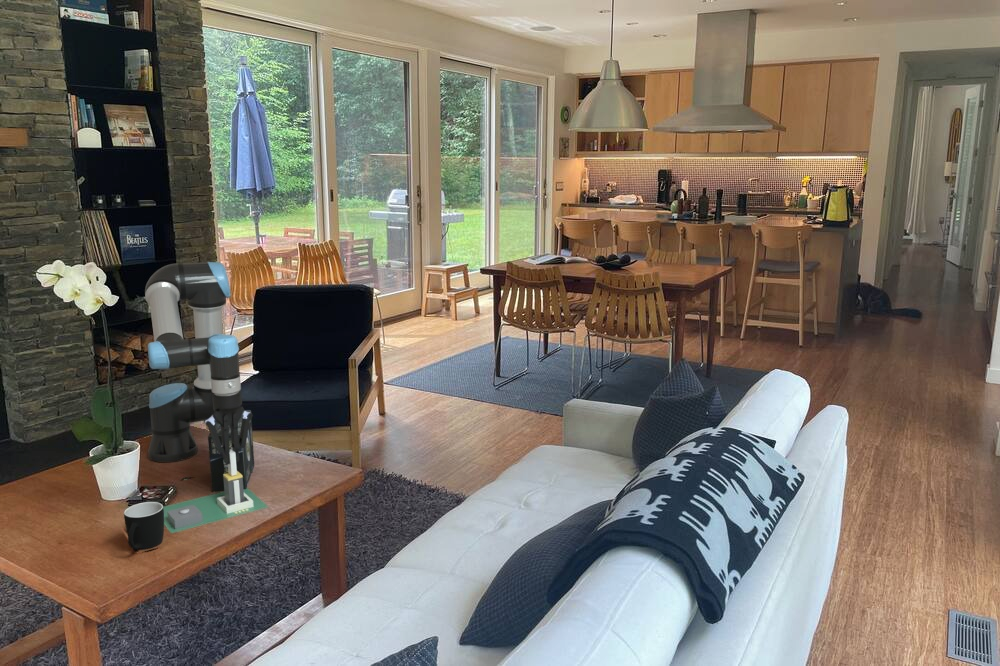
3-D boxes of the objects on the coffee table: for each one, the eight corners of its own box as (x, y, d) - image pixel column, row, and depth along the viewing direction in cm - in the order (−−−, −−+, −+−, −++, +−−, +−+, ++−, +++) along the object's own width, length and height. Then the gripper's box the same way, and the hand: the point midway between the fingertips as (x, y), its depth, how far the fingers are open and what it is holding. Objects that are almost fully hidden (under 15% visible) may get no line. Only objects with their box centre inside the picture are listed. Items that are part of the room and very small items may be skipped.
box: (247, 494, 225) (243, 433, 221) (211, 496, 223) (206, 435, 219) (255, 465, 247) (251, 409, 243) (223, 467, 245) (218, 411, 241)
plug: (225, 504, 214) (223, 474, 213) (239, 500, 217) (237, 470, 215) (231, 510, 211) (228, 479, 209) (245, 506, 213) (243, 476, 211)
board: (153, 512, 211) (151, 498, 210) (245, 489, 227) (245, 476, 226) (171, 536, 197) (169, 522, 197) (268, 510, 213) (267, 496, 212)
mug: (139, 537, 197) (135, 501, 195) (173, 538, 196) (169, 502, 194) (113, 561, 185) (109, 522, 183) (150, 562, 185) (146, 523, 183)
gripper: (206, 399, 200) (213, 483, 205) (255, 391, 208) (260, 472, 213) (197, 393, 206) (204, 475, 211) (245, 385, 214) (250, 464, 219)
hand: (232, 473), depth 212 cm, fingers closed
